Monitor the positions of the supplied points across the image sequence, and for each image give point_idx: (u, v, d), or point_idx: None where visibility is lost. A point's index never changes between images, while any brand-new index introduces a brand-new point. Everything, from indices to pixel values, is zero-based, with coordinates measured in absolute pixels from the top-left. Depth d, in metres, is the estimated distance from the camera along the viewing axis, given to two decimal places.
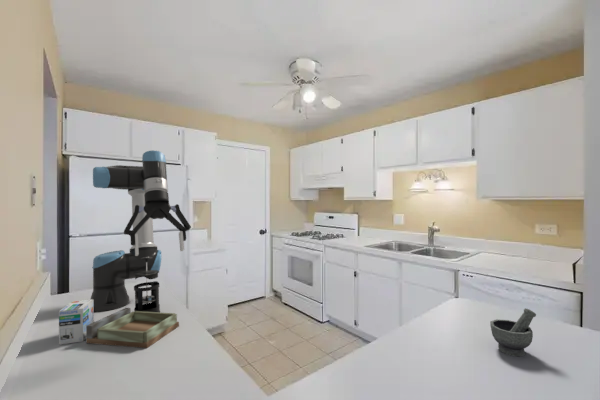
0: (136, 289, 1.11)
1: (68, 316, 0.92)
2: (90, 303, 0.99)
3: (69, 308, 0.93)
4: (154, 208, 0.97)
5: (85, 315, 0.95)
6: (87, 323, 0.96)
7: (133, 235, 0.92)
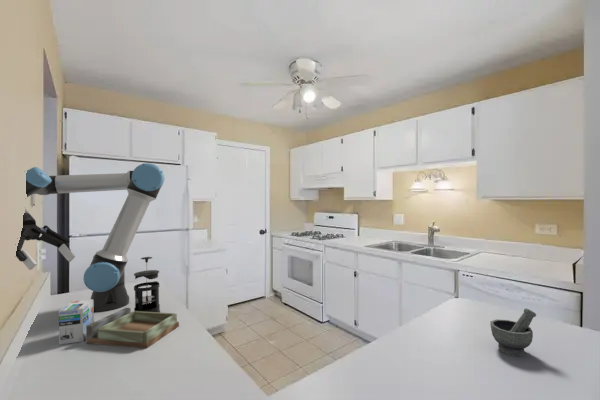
0: (136, 289, 1.11)
1: (68, 316, 0.92)
2: (90, 303, 0.99)
3: (69, 308, 0.93)
4: None
5: (85, 315, 0.95)
6: (87, 323, 0.96)
7: None
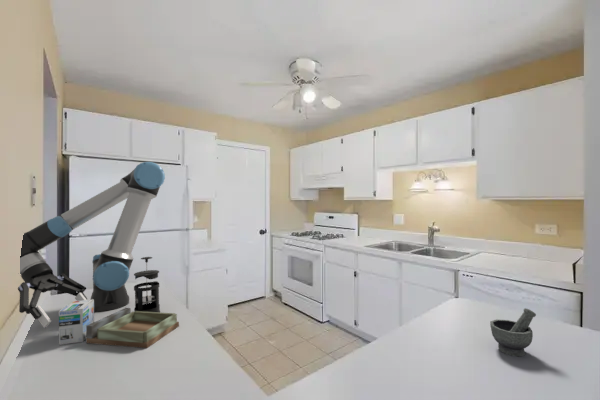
0: (136, 289, 1.11)
1: (68, 316, 0.91)
2: (90, 303, 0.99)
3: (69, 308, 0.93)
4: None
5: (85, 315, 0.95)
6: (87, 323, 0.96)
7: None
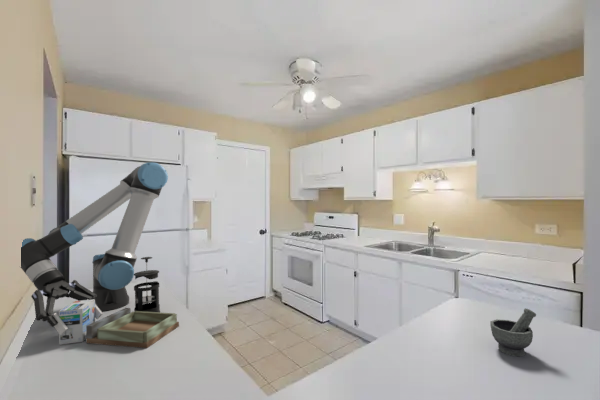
0: (136, 289, 1.11)
1: (68, 316, 0.91)
2: (91, 303, 0.99)
3: (69, 308, 0.93)
4: None
5: (85, 315, 0.95)
6: (87, 323, 0.96)
7: None
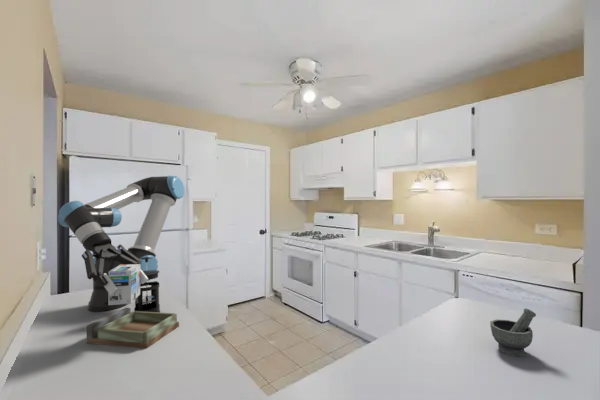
0: None
1: (117, 277, 0.90)
2: (137, 267, 0.98)
3: (118, 269, 0.92)
4: None
5: (133, 278, 0.93)
6: (134, 286, 0.94)
7: None
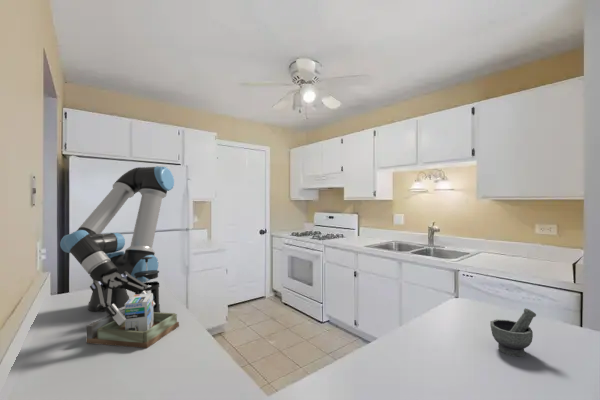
0: None
1: (133, 309, 0.92)
2: (150, 296, 1.00)
3: (133, 301, 0.94)
4: None
5: (148, 308, 0.95)
6: (150, 316, 0.97)
7: None
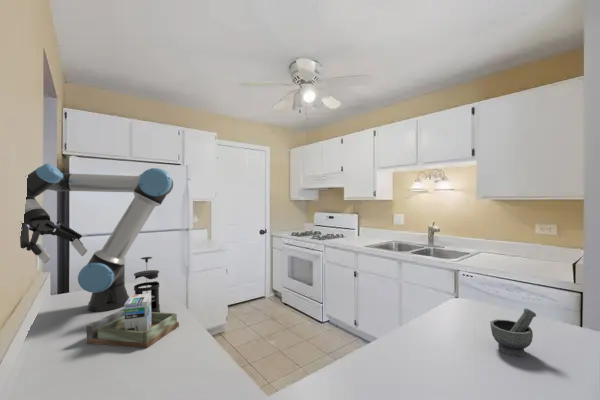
0: (136, 289, 1.11)
1: (133, 309, 0.92)
2: (149, 296, 1.00)
3: (133, 301, 0.94)
4: None
5: (148, 308, 0.95)
6: (149, 316, 0.97)
7: None
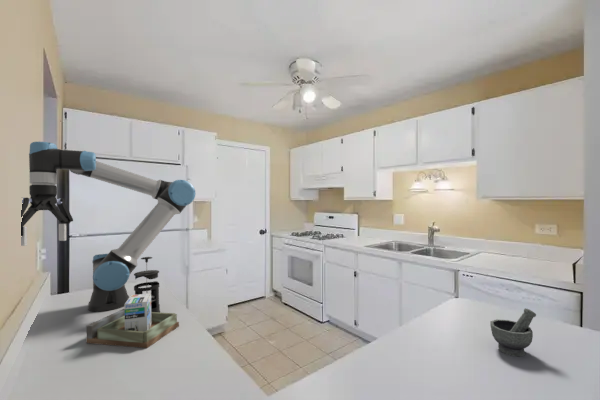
0: (136, 289, 1.11)
1: (133, 309, 0.92)
2: (149, 296, 1.00)
3: (133, 301, 0.94)
4: None
5: (148, 308, 0.95)
6: (149, 316, 0.97)
7: None
